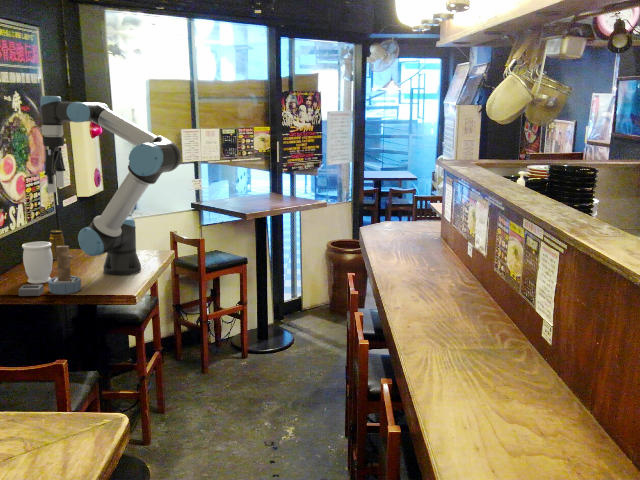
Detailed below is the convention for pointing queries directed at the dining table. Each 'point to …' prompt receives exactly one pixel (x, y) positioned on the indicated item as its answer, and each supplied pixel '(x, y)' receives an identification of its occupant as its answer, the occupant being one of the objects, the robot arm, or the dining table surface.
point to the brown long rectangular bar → (63, 263)
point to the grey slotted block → (31, 290)
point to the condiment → (56, 241)
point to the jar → (37, 261)
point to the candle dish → (64, 286)
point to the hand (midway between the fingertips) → (56, 189)
